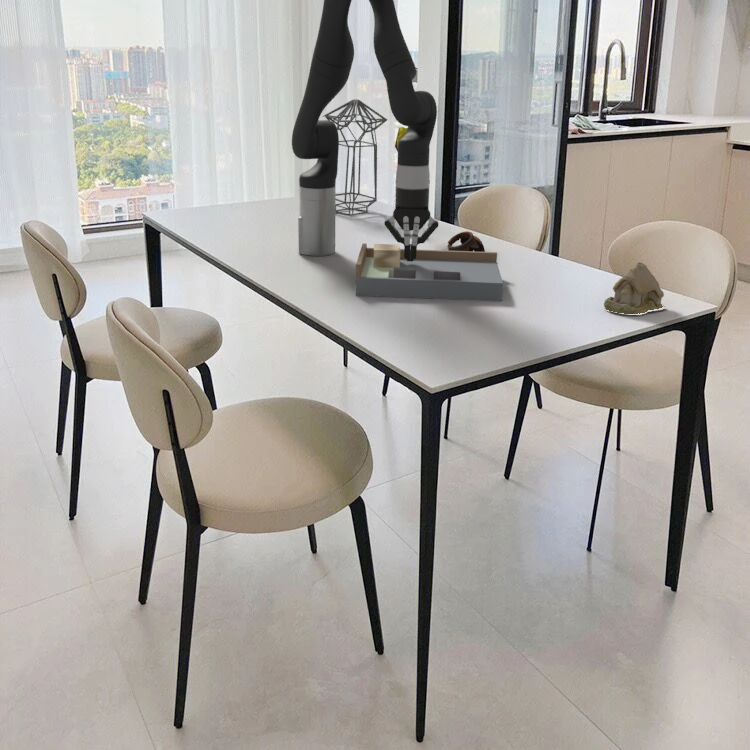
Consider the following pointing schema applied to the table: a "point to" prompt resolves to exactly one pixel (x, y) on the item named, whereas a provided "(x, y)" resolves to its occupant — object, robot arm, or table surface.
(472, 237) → the brown curved piece
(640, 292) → the ceramic model
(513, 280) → the table surface
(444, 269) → the board
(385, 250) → the maple block
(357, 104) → the geometric lantern
